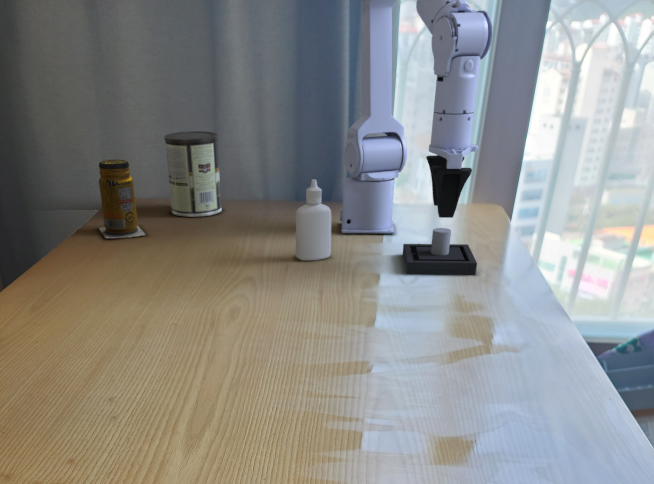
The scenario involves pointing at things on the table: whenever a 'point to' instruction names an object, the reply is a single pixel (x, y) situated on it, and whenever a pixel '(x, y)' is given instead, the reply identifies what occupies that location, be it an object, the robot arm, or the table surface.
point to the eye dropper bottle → (313, 227)
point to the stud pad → (430, 257)
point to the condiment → (118, 200)
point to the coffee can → (193, 173)
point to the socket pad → (439, 262)
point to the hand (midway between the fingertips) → (443, 211)
